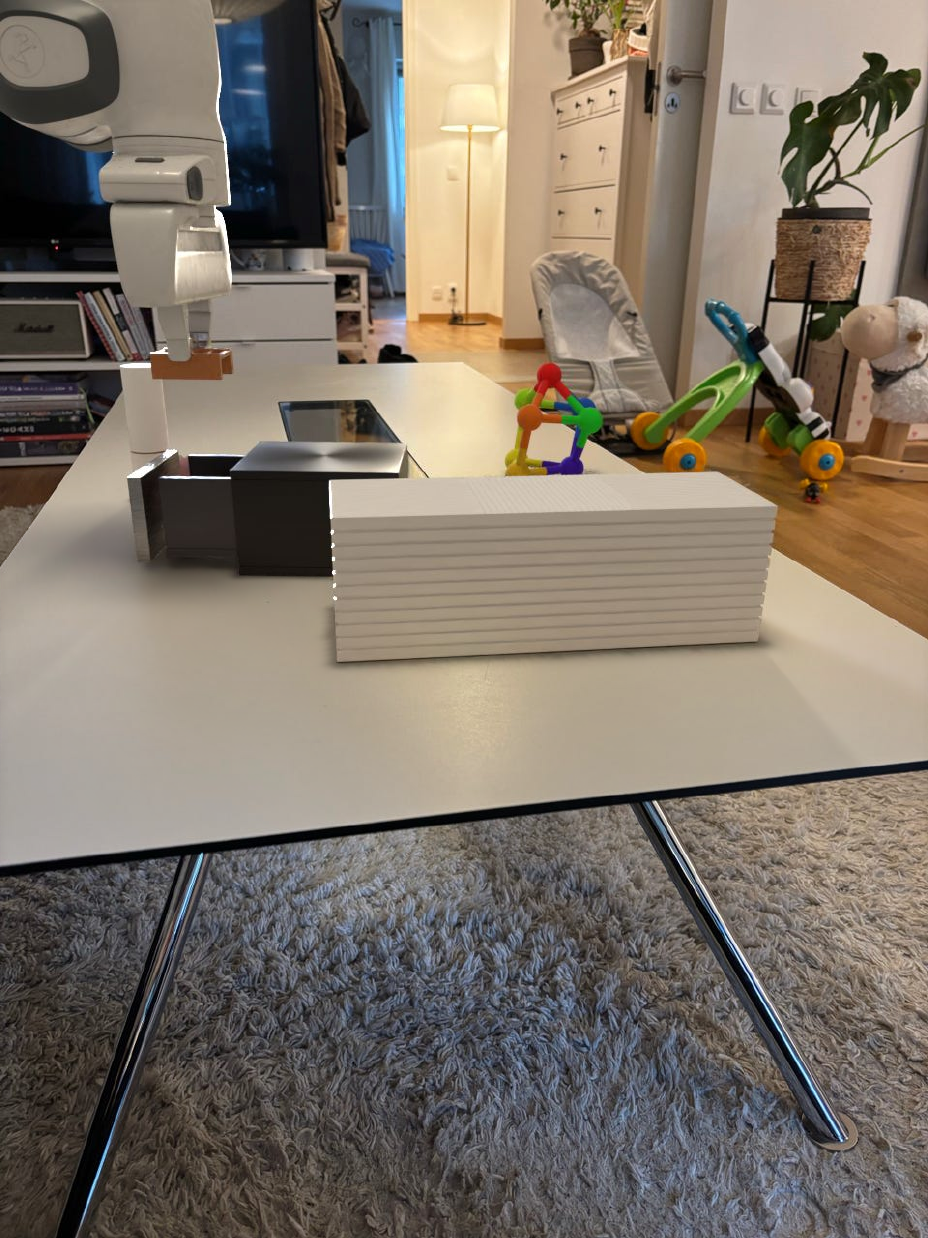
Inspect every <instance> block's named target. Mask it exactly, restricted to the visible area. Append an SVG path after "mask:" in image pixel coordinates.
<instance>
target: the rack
mask: <svg viewBox="0 0 928 1238" xmlns="http://www.w3.org/2000/svg"><path fill="white" fill-rule="evenodd" d="M193 351H194V355H193V357H192V358H191V359H189V360H188V361H172V360H170V359H169V357H168V350H167V347H164V348H163V349H161V350H158V351H155V352H149V353H148V354H149V363H150V364H151V372H152V379H160V380H162V381H164V380H165V381H167V380H168V381H169V380H170V381H172V380H173V381H175V380H178V381H223V380H224V375H233V374H234V373H235V372H234V363H233V362H234V361H233V349H232V348H229V347H228V348H226V347H225V348H224V347H223V348H222V347H220V348H219V347H218V348H217V347H215V348H214V347H212V348H193Z"/></svg>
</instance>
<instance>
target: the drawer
mask: <svg viewBox="0 0 928 1238" xmlns="http://www.w3.org/2000/svg"><path fill="white" fill-rule="evenodd" d="M179 455H180V454H179V450H175V449H173V450H172V449H169V450H166V451H165V452H163V453H162V454H160V455H159V456H157V457H156V458H155V459H153V460H152V461H150V462H149V463H147V464H146V465H144V466H143V467H142V468H140V469H139V470H137V471H136V472H134V473H133V472H132V474H130V475H128V476H127V477H126V480H127V488H128V497H129V503H130V504H129V505H130V513H131V519H132V528H133V534H134V542H135V543H134V544H135V550H136V551H135V552H136V558H137V562H138V563H151V562H152V561H153V560H155V558H157V556H158V555H159V554H160V553H161V552H162V551H163V550H164V549H165V548H166V556H167V557H168V558H233V559H235V558H237V548H236V536H235V524H234V513H233V501H232V489H231V478H230V470H231V469H232V468H233V467H234V466H235V465H236V464H237V463H238V462H239V461H240V460H241V459H242V458H243V457H244V456H245V455H246V454H208V453H207V454H205V453H190V454H189V455H187V456H188V464H189V473H190V477H184V476H181V473H180V464H179Z"/></svg>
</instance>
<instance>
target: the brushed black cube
mask: <svg viewBox="0 0 928 1238" xmlns="http://www.w3.org/2000/svg"><path fill="white" fill-rule="evenodd" d="M244 455H245V456H244V457H243V458H242V459H241V460H240V461H239V462H238V463H237V464H236V465H235V466H234V467H233V468H232V469H231V470H230V478H231V489H232V501H233V513H234V524H235V536H236V548H237V570H238V575H239V576H288V577H289V576H292V577H293V576H295V577H297V576H298V577H301V576H304V577H333V561H332V538H331V514H330V490H329V480H350V479H398V478H408V443H407V442H351V441H350V442H349V441H346V442H345V441H344V442H342V441H278V440H277V441H275V440H274V441H272V440H271V441H270V440H269V441H267V440H266V441H264V440H260V441H259V442H258V443H256V444H255V446H253V447H252V448H251V449H250V450H249V451H248V452H247V453H246V454H244Z"/></svg>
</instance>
